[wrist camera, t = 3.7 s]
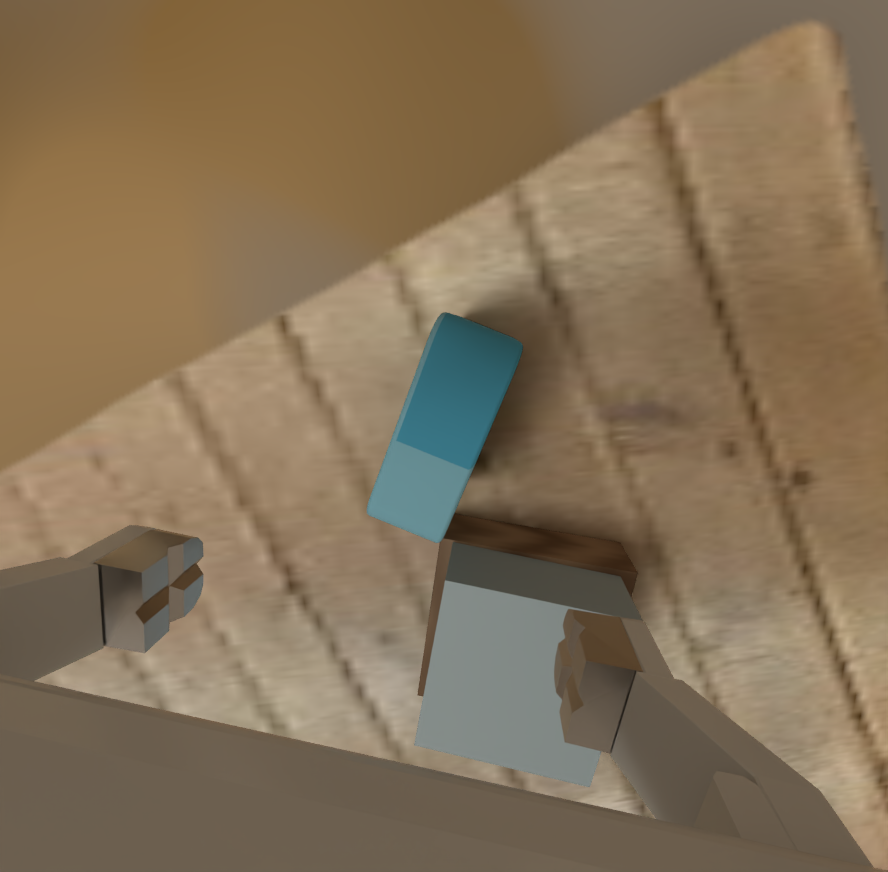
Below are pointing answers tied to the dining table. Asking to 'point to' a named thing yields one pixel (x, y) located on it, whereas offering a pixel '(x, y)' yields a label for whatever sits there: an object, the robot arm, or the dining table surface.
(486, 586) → the slate top block
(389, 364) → the dining table surface
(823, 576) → the dining table surface
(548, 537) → the walnut base block
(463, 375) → the data package
